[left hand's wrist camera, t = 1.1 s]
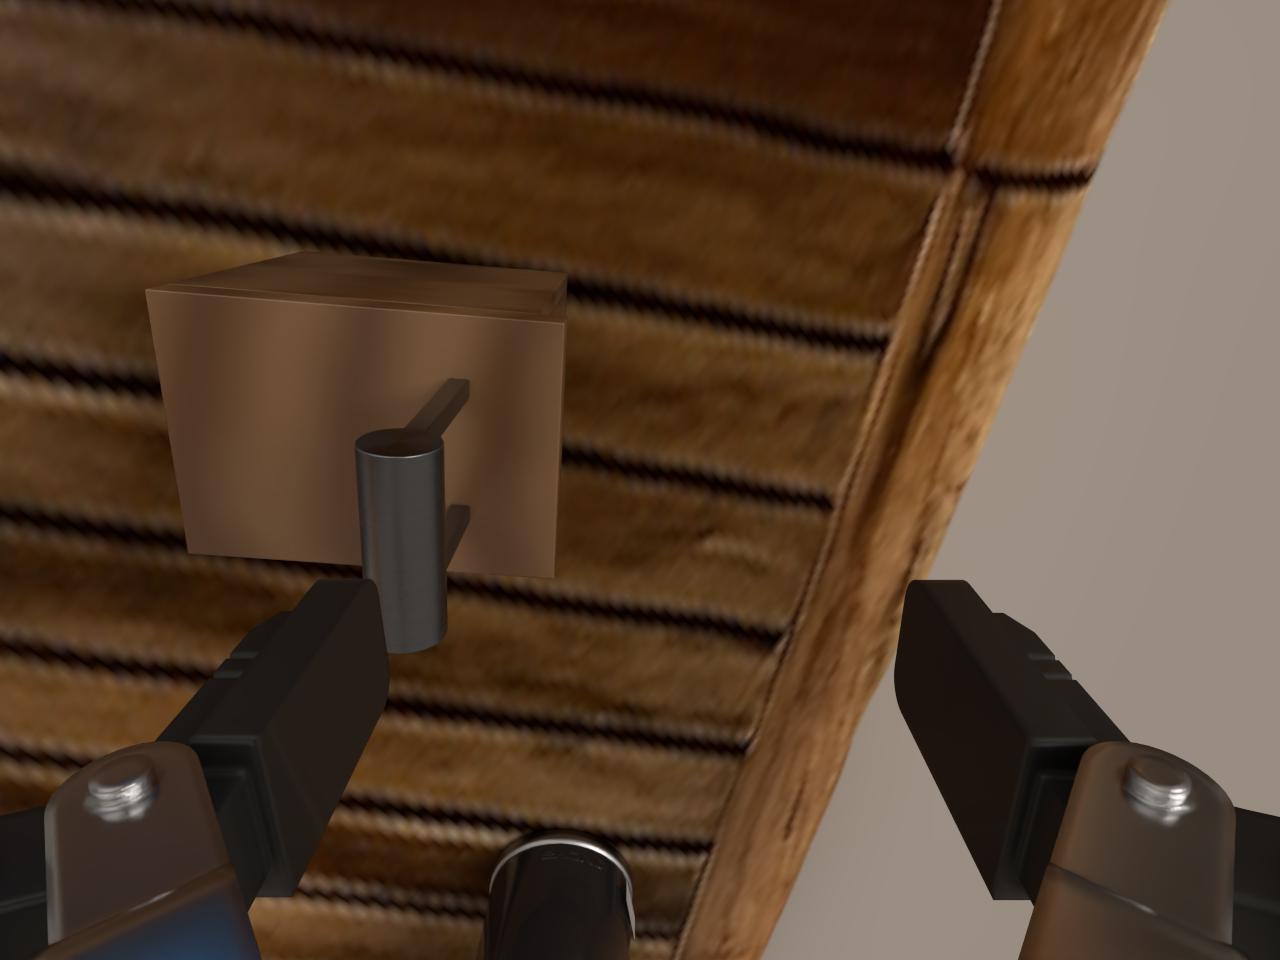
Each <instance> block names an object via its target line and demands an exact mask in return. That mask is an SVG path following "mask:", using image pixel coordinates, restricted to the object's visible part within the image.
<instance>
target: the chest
mask: <svg viewBox="0 0 1280 960" xmlns="http://www.w3.org/2000/svg"><path fill="white" fill-rule="evenodd" d="M169 284H176V285H188V286H200V287H213V288H225V289H238V290H250V291H262V292H275V293H287V294H299V295H312V296H324V297H336V298H349V299H361V300H373V301H386V302H398V303H410V304H423V305H435V306H448V307H460V308H472V309H485V310H497V311H509V312H522V313H534V314H546V315H559V316H566V298H567V273H560V272H548V271H536V270H524V269H512V268H500V267H488V266H476V265H464V264H452V263H440V262H427V261H415V260H403V259H391V258H379V257H367V256H355V255H343V254H331V253H319V252H307V251H303V252H299V253H294V254H290V255H286V256H281V257H277V258H273V259H269V260H265V261H261V262H256V263H252V264H248V265H244V266H240V267H236V268H231V269H227V270H223V271H219V272H215V273H211V274H206V275H202V276H198V277H194V278H190V279H186V280H181V281H177V282H173V283H169Z"/></svg>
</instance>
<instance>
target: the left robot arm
mask: <svg viewBox="0 0 1280 960" xmlns="http://www.w3.org/2000/svg"><path fill="white" fill-rule="evenodd" d="M389 680H390V670H389V661H388V654H387V647H386V640H385V633H384V627H383V620H382V613H381V606H380V599H379V593H378V589H377V586H376V584H375V582H374V581H373V580H372V579H319V580H318V581H317V582H316V583H315V584H314V585H313V586H312V587H311V589H310V590H309V591H308V592H307V594H306V595H305V596H304V597H303V598H302V600H301V601H300V602H299V603H298V605H297V606H296V607H295V608H294V610H293V611H292V612H280V613H278V614H277V615H275V616H273V617H272V618H270V619H269V620H267V621H265V622H264V623H262V624H261V625H259V626H257V627H256V628H254V629H253V630H251V631H250V632H249V633H248V634H247V635H246V636H245V638H244V639H243V640H242V641H241V642H240V643H239V645H238V646H237V647H236V648H235V649H234V650H233V651H232V653H231V654H230V659H226V660H225V661H224V662H223V663H222V664H221V665H220V666H219V668H218V669H217V670H216V671H215V672H214V677H213V678H209V679H208V680H207V681H206V683H205V684H204V685H203V686H202V687H201V688H200V690H199V691H198V692H197V693H196V694H195V695H194V697H193V698H192V699H191V700H190V701H189V702H188V703H187V705H186V706H185V707H184V708H183V709H182V710H181V712H180V713H179V714H178V715H177V716H176V717H175V718H174V720H173V721H172V722H171V723H170V724H169V725H168V727H167V728H166V729H165V730H164V731H163V732H162V733H161V735H160V736H159V737H158V738H157V739H156V740H155V742H148V743H142V744H138V745H133V746H130V747H126V748H123V749H120V750H117V751H115V752H112V753H110V754H107V755H105V756H103V757H101V758H99V759H97V760H95V761H93V762H92V763H90V764H88V765H86V766H85V767H83V768H82V769H80V770H79V771H77V772H76V773H75V774H73V775H72V776H71V777H70V778H68V779H67V780H66V781H65V782H64V783H63V784H62V785H61V786H60V787H59V788H58V789H57V790H56V791H55V792H54V794H53V795H52V797H51V798H50V800H49V802H48V804H47V806H42V807H38V808H33V809H29V810H24V811H20V812H15V813H11V814H6V815H2V816H0V960H262V958H261V955H260V952H259V949H258V945H257V942H256V939H255V936H254V932H253V929H252V926H251V922H250V919H249V916H248V913H247V912H248V910H249V909H250V907H251V905H252V903H253V901H254V899H255V897H293V895H294V893H295V891H296V888H297V886H298V884H299V882H300V880H301V878H302V876H303V874H304V872H305V870H306V868H307V866H308V864H309V862H310V860H311V858H312V855H313V853H314V851H315V849H316V847H317V845H318V843H319V841H320V839H321V837H322V835H323V833H324V831H325V829H326V827H327V825H328V823H329V820H330V818H331V816H332V814H333V812H334V810H335V808H336V806H337V804H338V802H339V800H340V798H341V796H342V794H343V792H344V790H345V788H346V785H347V783H348V781H349V779H350V777H351V775H352V773H353V771H354V769H355V767H356V765H357V763H358V761H359V759H360V757H361V755H362V752H363V750H364V748H365V746H366V744H367V742H368V740H369V738H370V736H371V734H372V732H373V730H374V728H375V726H376V724H377V722H378V720H379V717H380V715H381V713H382V711H383V709H384V707H385V704H386V700H387V696H388V690H389ZM894 684H895V693H896V698H897V702H898V705H899V708H900V711H901V713H902V715H903V717H904V719H905V721H906V723H907V725H908V727H909V729H910V731H911V733H912V735H913V737H914V739H915V741H916V743H917V746H918V748H919V750H920V752H921V754H922V756H923V758H924V760H925V762H926V764H927V766H928V768H929V770H930V772H931V774H932V776H933V778H934V780H935V782H936V784H937V786H938V788H939V790H940V792H941V794H942V796H943V798H944V800H945V802H946V805H947V807H948V809H949V811H950V813H951V815H952V817H953V819H954V821H955V823H956V825H957V827H958V829H959V831H960V833H961V835H962V837H963V839H964V841H965V843H966V845H967V847H968V849H969V851H970V853H971V855H972V857H973V859H974V862H975V864H976V866H977V868H978V870H979V872H980V874H981V876H982V878H983V880H984V882H985V884H986V886H987V888H988V890H989V892H990V894H991V896H992V898H993V900H1031V902H1032V904H1033V906H1034V909H1033V913H1032V916H1031V919H1030V922H1029V926H1028V929H1027V932H1026V936H1025V939H1024V942H1023V945H1022V949H1021V952H1020V955H1019V958H1018V960H1280V817H1277V816H1273V815H1268V814H1264V813H1259V812H1255V811H1250V810H1246V809H1242V808H1238V807H1234V806H1233V804H1232V802H1231V800H1230V798H1229V797H1228V795H1227V794H1226V792H1225V791H1224V790H1223V789H1222V788H1221V787H1220V786H1219V785H1218V784H1217V783H1216V782H1215V781H1214V780H1213V779H1212V778H1210V777H1209V776H1208V775H1207V774H1205V773H1204V772H1203V771H1201V770H1200V769H1198V768H1197V767H1195V766H1194V765H1192V764H1190V763H1188V762H1187V761H1185V760H1183V759H1181V758H1179V757H1177V756H1175V755H1173V754H1170V753H1168V752H1165V751H1163V750H1160V749H1157V748H1154V747H1150V746H1147V745H1142V744H1138V743H1132V742H1130V741H1129V740H1128V739H1127V738H1126V737H1125V735H1124V734H1123V733H1122V732H1121V731H1120V730H1119V729H1118V727H1117V726H1116V725H1115V724H1114V723H1113V722H1112V720H1111V719H1110V718H1109V717H1108V716H1107V715H1106V714H1105V712H1104V711H1103V710H1102V709H1101V708H1100V707H1099V706H1098V704H1097V703H1096V702H1095V701H1094V700H1093V699H1092V698H1091V696H1090V695H1089V694H1088V693H1087V692H1086V691H1085V690H1084V689H1083V687H1082V686H1081V685H1080V684H1079V683H1078V682H1077V681H1076V680H1072V675H1071V674H1070V672H1069V671H1068V670H1067V669H1066V668H1065V667H1064V666H1063V664H1062V663H1061V662H1060V661H1059V660H1055V655H1054V654H1053V653H1052V652H1051V651H1050V650H1049V648H1048V647H1047V646H1046V645H1045V644H1044V643H1043V642H1042V640H1041V639H1040V638H1039V637H1038V636H1037V635H1036V634H1035V633H1034V632H1033V631H1031V630H1030V629H1028V628H1027V627H1025V626H1023V625H1022V624H1020V623H1019V622H1017V621H1015V620H1014V619H1012V618H1011V617H1009V616H1007V615H1006V614H1004V613H992V611H991V610H990V609H989V608H988V606H987V605H986V604H985V603H984V602H983V600H982V599H981V598H980V597H979V595H978V594H977V593H976V592H975V590H974V589H973V588H972V587H971V586H970V584H969V583H968V582H966V581H964V580H913V581H911V582H910V584H909V585H908V587H907V590H906V594H905V600H904V607H903V614H902V621H901V627H900V634H899V641H898V647H897V654H896V661H895V669H894ZM489 892H490V895H489V900H488V905H487V910H486V915H485V919H484V923H483V928H482V933H481V938H480V943H479V947H478V952H477V957H476V960H630V920H631V924H632V929H633V934H634V939H635V916H634V911H633V907H632V874H631V870H630V868H629V865H628V863H627V862H626V860H625V859H624V857H623V856H622V855H621V854H620V852H619V851H617V850H616V849H615V848H614V847H613V846H612V845H610V844H609V843H607V842H606V841H604V840H602V839H600V838H598V837H595V836H593V835H590V834H587V833H583V832H579V831H573V830H546V831H541V832H536V833H533V834H530V835H527V836H525V837H522V838H520V839H518V840H517V841H515V842H514V843H512V844H511V845H509V846H508V847H507V848H506V849H505V850H504V851H503V852H502V853H501V855H500V856H499V858H498V859H497V861H496V863H495V866H494V868H493V873H492V878H491V883H490V891H489Z"/></svg>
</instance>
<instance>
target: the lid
mask: <svg viewBox="0 0 1280 960" xmlns="http://www.w3.org/2000/svg"><path fill="white" fill-rule="evenodd" d="M145 293H146V299H147V305H148V311H149V317H150V324H151V330H152V336H153V342H154V348H155V354H156V360H157V366H158V372H159V378H160V384H161V391H162V397H163V403H164V409H165V415H166V421H167V427H168V433H169V439H170V445H171V451H172V458H173V464H174V470H175V476H176V482H177V488H178V494H179V500H180V506H181V512H182V518H183V525H184V531H185V537H186V543H187V549H188V553H189V554H204V555H218V556H232V557H247V558H261V559H276V560H290V561H305V562H319V563H334V564H348V565H362V572H363V579H372V580H373V581H374V582H375V584H376V586H377V589H378V593H379V599H380V606H381V613H382V620H383V627H384V633H385V640H386V647H387V652H388V653H395V654H408V653H415V652H419V651H423V650H426V649H428V648H430V647H433V646H434V645H436V644H437V643H439V642H440V641H441V640H442V639H443V638H444V636H445V635H446V633H447V628H448V625H447V571H449V572H464V573H478V574H492V575H507V576H521V577H536V578H550V579H553V578H554V574H555V569H556V565H557V551H558V528H559V506H560V483H561V461H562V438H563V416H564V394H565V371H566V349H567V326H568V317H567V316H559V315H546V314H534V313H522V312H509V311H497V310H485V309H472V308H460V307H448V306H435V305H423V304H410V303H398V302H386V301H373V300H361V299H349V298H336V297H324V296H312V295H299V294H287V293H275V292H262V291H250V290H238V289H225V288H213V287H200V286H188V285H176V284H165V285H161V286H157V287H153V288H149V289H146V290H145Z"/></svg>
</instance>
